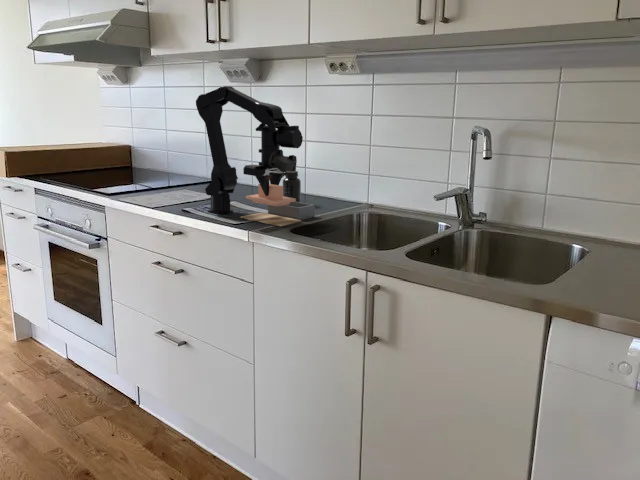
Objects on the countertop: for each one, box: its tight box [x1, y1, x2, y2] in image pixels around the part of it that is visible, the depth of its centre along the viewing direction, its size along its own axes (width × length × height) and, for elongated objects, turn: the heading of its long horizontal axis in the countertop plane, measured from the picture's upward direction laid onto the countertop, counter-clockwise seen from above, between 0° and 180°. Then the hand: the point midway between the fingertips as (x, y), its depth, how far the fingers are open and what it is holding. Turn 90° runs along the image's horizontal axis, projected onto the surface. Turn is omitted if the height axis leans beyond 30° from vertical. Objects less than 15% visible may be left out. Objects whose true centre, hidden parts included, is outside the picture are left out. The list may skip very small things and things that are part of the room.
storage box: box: [267, 201, 316, 220], centre depth 187 cm, size 14×8×4 cm, turn 51°
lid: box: [245, 183, 296, 207], centre depth 178 cm, size 14×8×6 cm, turn 51°
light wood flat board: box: [239, 212, 303, 227], centre depth 180 cm, size 18×10×1 cm, turn 51°
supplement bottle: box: [282, 170, 302, 203], centre depth 208 cm, size 7×7×12 cm
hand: (270, 195), depth 178 cm, fingers closed on lid, 3 cm apart
